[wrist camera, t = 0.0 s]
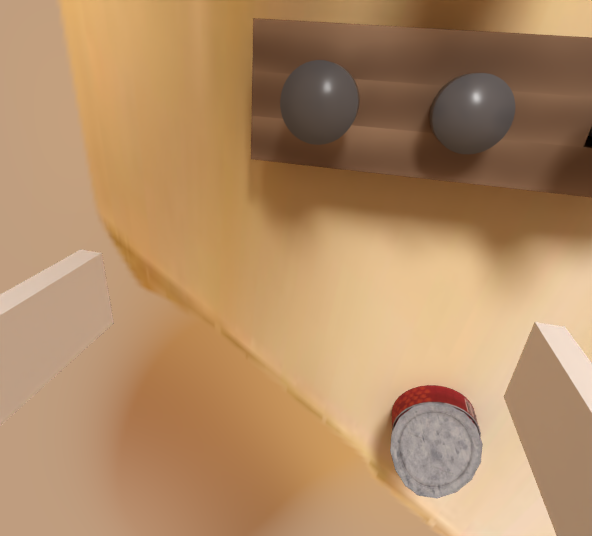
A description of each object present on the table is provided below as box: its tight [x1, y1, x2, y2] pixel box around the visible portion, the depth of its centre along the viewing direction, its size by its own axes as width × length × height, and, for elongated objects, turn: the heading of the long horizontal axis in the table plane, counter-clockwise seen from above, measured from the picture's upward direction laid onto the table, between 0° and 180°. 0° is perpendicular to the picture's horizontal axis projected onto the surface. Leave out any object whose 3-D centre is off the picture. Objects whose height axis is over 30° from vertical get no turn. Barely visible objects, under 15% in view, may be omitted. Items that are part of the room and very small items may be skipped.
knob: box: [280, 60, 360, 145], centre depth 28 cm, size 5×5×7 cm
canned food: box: [390, 385, 483, 498], centre depth 46 cm, size 11×10×10 cm
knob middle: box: [430, 73, 515, 154], centre depth 29 cm, size 5×5×7 cm
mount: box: [251, 18, 592, 197], centre depth 31 cm, size 10×32×6 cm, turn 86°
